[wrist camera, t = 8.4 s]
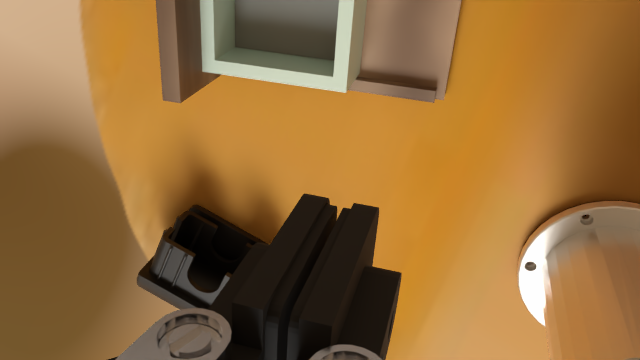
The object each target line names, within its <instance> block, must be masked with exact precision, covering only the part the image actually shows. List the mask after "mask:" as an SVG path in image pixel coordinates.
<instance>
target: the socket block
mask: <svg viewBox="0 0 640 360" xmlns="http://www.w3.org/2000/svg"><path fill="white" fill-rule="evenodd" d="M366 6H367V0H200V18H201V46H202V72H208V73H215V74H222V75H229V76H235V77H242V78H249V79H256V80H263V81H269V82H276V83H283V84H290V85H297V86H303V87H310V88H317V89H324V90H331V91H337V92H344V93H346V92H347V91H348V89H349V88H350V86H351V85H352V83H353V82H354V81H355V79H356V78H357V76H358V75H359V73H360V66H361V56H362V46H363V36H364V26H365V16H366Z"/></svg>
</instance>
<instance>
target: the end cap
mask: <svg viewBox="0 0 640 360" xmlns="http://www.w3.org/2000/svg"><path fill="white" fill-rule="evenodd" d="M258 242H259V243H264V244H267V243H265V242H263V241H261V240H260V239H258V238H256V237H254V236H253V235H251V234H249V233H247V232H245V231H244V230H242V229H240V228H238V227H237V226H235V225H233V224H231V223H229V222H228V221H226V220H224V219H222V218H221V217H219V216H217V215H215V214H213V213H212V212H210V211H208V210H206V209H205V208H203V207H201V206H199V205H193V206H192V207H191V208H190V210H189V211H186V212H184V213H183V214H182V215H181V216H178V217H177V219H176V222H175V224H174V227H173V228H172V227H170V228H169V229H167V230H165V231H164V233H163V235H162V238H161V240H160V243H159V245H158V248H157V250H156V253H155V255H154V256H153V257H152V258H151V260H150V261H149V262H148V263H147V264H146V265H145V266H144V267H143V268H142V269H141V270H140V272H139V274H138V277H137V285H138V286H139V287H141V288H143V289H145V290H146V291H148V292H150V293H152V294H154V295H155V296H157V297H159V298H160V299H162V300H164V301H166V302H168V303H169V304H171V305H173V306H175V307H176V308H178V309H180V310H182V309H187V308H203V309H207V310H208V308H209V307H210V306H211V304H212V303H213V301H214V300H215V299H216V297H217V296H218V294H219V293H220V291H221V290H222V289H223V287H224V286H225V284H226V283H227V282H228V280H229V279H230V277H231V276H232V275H233V273H234V272H235V270H236V269H237V267H238V266H239V265H240V263H241V262H242V260H243V259H244V258H245V256H246V255H247V253H248V252H249V251H250V249H251V248H252V246H253V245H254V244H255V243H258ZM268 245H269V244H268Z"/></svg>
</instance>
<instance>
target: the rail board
mask: <svg viewBox="0 0 640 360" xmlns="http://www.w3.org/2000/svg"><path fill="white" fill-rule="evenodd" d="M460 6H461V0H367V6H366V16H365V26H364V36H363V46H362V56H361V66H360V73H359V75H358V76H357V78H356V79H355V81H354V82H353V83H352V85H351V86H350V88H349V89H348V90H351V91H358V92H365V93H372V94H378V95H385V96H392V97H399V98H406V99H413V100H419V101H426V102H433V103H434V101H435V99H439V100H444V97H445V91H446V86H447V80H448V74H449V68H450V63H451V57H452V51H453V46H454V40H455V34H456V29H457V23H458V17H459V11H460ZM156 10H157V24H158V38H159V52H160V66H161V80H162V94H163V100H164V101H171V102H177V103H181V102H183V101H184V100H186V99H187V98H189V97H190V96H191V95H193V94H194V93H196V92H197V91H199V90H200V89H201V88H203V87H204V86H206V85H207V84H209V83H210V82H212V81H213V80H214V79H216V78H217V77H219V76H220V75H222V74H215V73H208V72H202V46H201V18H200V0H156Z"/></svg>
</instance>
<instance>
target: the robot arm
mask: <svg viewBox="0 0 640 360" xmlns="http://www.w3.org/2000/svg"><path fill="white" fill-rule="evenodd" d="M583 215H587V216H583ZM378 217H379V208H378V207H373V206H367V205H362V204H357V203H354V204H353V206H352V208H351V209H348V208H343V209H342V211H341V213H340V215H339V217H338V219H337V206H333V205H330V202H329V198H325V197H320V196H315V195H309V194H303V196H302V197H301V199H300V200H299V202H298V203H297V205H296V206H295V208H294V209H293V211H292V212H291V214H290V215H289V217H288V218H287V220H286V221H285V223H284V224H283V226H282V227H281V229H280V230H279V232H278V233H277V235H276V236H275V238H274V239H273V241H272V242H271V244H270V245H268V244H264V243H259V242H258V243H255V244H254V245H253V246H252V248H251V249H250V251H249V252H248V253H247V255H246V256H245V258H244V259H243V260H242V262H241V263H240V265H239V266H238V267H237V269H236V270H235V272H234V273H233V275H232V276H231V277H230V279H229V280H228V282H227V283H226V284H225V286H224V287H223V289H222V290H221V291H220V293H219V294H218V296H217V297H216V299H215V300H214V301H213V303H212V304H211V306H210V307H209V308H208V310H207V309H203V308H187V309H182V310H177V311H174V312H172V313H170V314H167V315H165V316H164V317H162V318H161V319H159V320H158V321H157V322H155V323H154V324H153V325H152V326H151V327H150V328H149V329H148V330H147V331H146V332H145V333H143V334H142V335H141V336H140V337H139V338H138V339H137V340H136V341H135V342H134V343H133V344H132V345H131V346H129V347H128V348H127V349H126V350H125V351H124V352H123V353H122V354H121V355H120V356H118V357H115V358H112V359H108V360H385V359H386V354H387V350H388V346H389V342H390V337H391V333H392V328H393V323H394V318H395V313H396V307H397V301H398V295H399V288H400V282H401V273H400V272H395V271H391V270H386V269H381V268H377V267H372V264H373V256H374V248H375V241H376V233H377V225H378ZM336 219H337V221H336ZM517 278H518V287H519V291H520V295H521V298H522V300H523V302H524V304H525V306H526V307H527V309H528V311H529V312H530V313H531V314H532V315H533V317H534V318H535V319H536V320H537V321H538V322H539V323H541V324H542V325H543V326H544V327H545V329H546V336H547V344H548V351H549V359H550V360H640V204H637V203H632V202H626V201H600V202H593V203H586V204H582V205H579V206H576V207H572V208H569V209H567V210H565V211H563V212H561V213H559V214H557V215H555V216H553V217H551V218H550V219H549V220H547V221H546V222H544V223H543V224H542V225H540V226H539V227H538V228H537V229H536V231H535V232H534V233H533V234H532V235H531V236H530V237H529V239H528V240H527V242H526V244H525V245H524V247H523V248H522V251H521V254H520V257H519V260H518V269H517Z"/></svg>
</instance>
